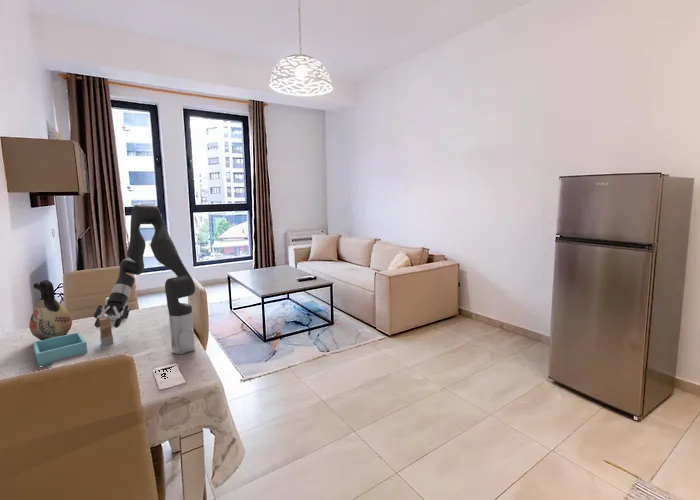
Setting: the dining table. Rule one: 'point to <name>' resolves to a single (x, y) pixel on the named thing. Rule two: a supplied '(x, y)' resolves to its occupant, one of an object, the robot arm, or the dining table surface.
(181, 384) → the dining table surface
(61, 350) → the teal bin
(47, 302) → the ceramic jug
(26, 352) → the dining table surface
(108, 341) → the walnut strut
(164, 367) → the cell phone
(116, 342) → the stud plate
